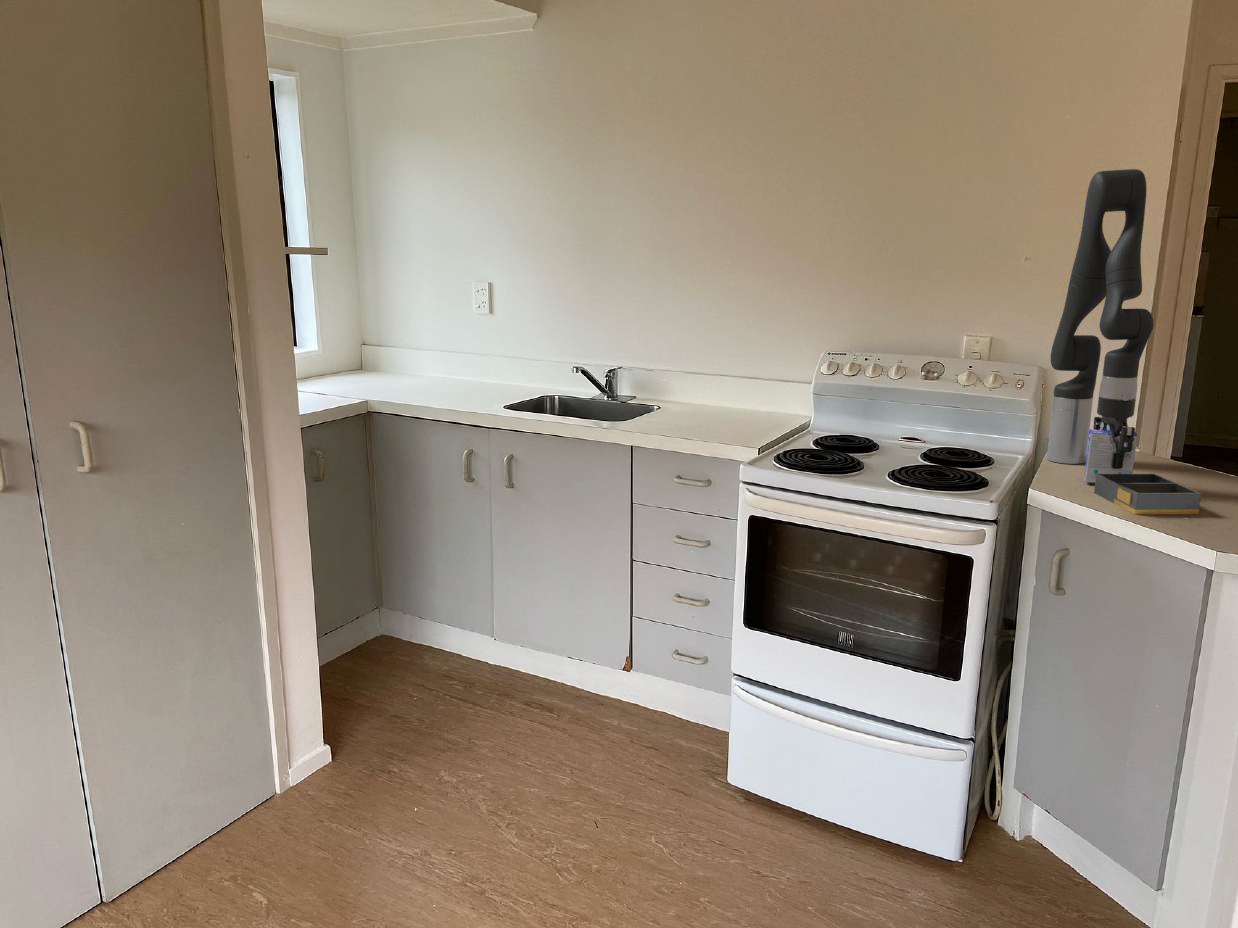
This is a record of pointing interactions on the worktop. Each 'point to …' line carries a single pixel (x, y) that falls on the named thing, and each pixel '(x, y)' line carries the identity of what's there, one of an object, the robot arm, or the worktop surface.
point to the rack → (1147, 494)
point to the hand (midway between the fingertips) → (1108, 464)
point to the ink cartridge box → (1105, 456)
